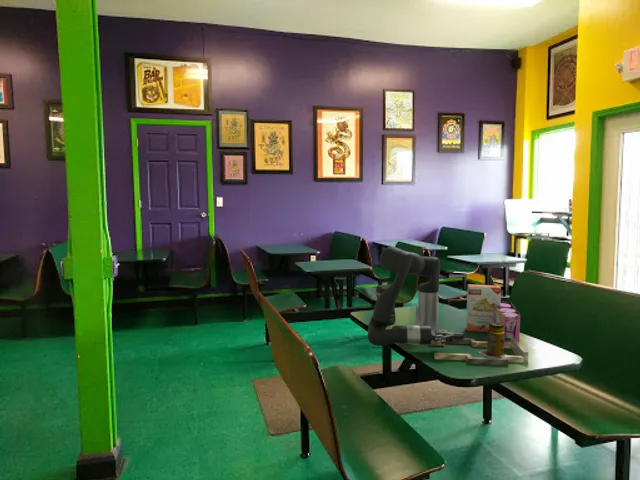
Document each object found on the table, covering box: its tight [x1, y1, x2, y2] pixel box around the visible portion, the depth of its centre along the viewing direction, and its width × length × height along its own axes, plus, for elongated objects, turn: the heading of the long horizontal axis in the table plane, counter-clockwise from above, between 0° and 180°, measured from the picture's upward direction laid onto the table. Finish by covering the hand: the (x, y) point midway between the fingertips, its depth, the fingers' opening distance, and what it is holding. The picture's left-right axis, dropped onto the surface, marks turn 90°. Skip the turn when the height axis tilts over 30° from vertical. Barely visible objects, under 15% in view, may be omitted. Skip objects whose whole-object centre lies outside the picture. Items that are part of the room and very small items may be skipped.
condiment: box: [478, 323, 508, 358], centre depth 173 cm, size 7×8×12 cm
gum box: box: [494, 301, 521, 343], centre depth 192 cm, size 24×8×14 cm, turn 166°
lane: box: [429, 337, 529, 366], centre depth 175 cm, size 34×24×4 cm
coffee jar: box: [375, 284, 396, 325], centre depth 217 cm, size 10×8×19 cm
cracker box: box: [465, 283, 502, 333], centre depth 203 cm, size 14×6×21 cm, turn 76°
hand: (463, 336), depth 175 cm, fingers closed
